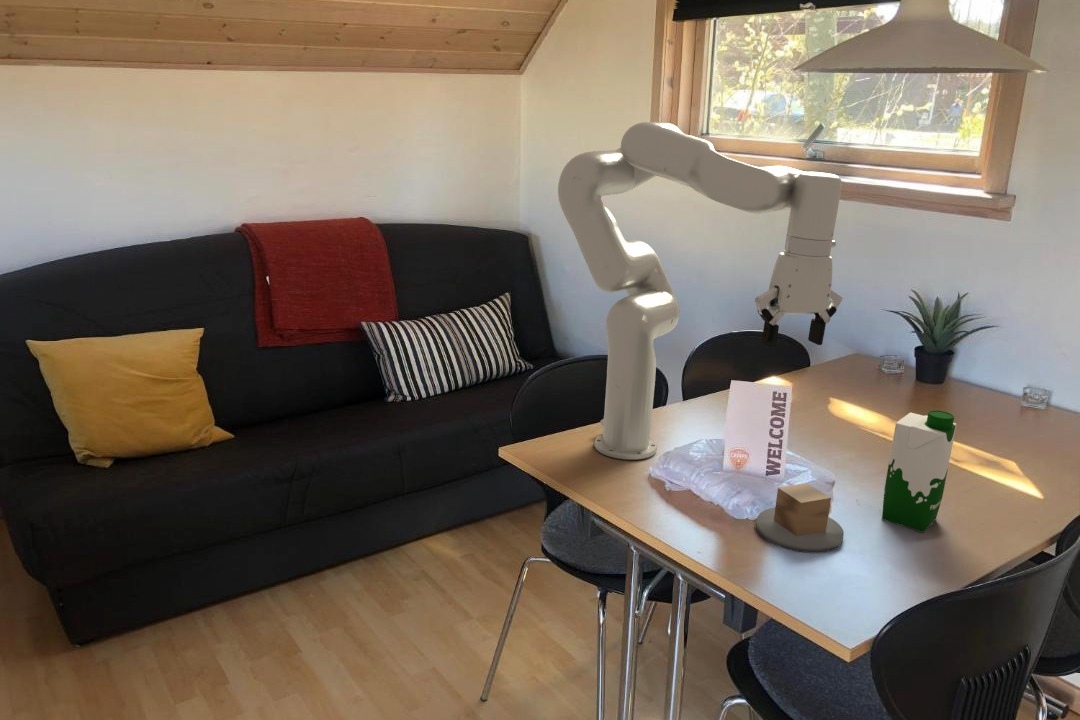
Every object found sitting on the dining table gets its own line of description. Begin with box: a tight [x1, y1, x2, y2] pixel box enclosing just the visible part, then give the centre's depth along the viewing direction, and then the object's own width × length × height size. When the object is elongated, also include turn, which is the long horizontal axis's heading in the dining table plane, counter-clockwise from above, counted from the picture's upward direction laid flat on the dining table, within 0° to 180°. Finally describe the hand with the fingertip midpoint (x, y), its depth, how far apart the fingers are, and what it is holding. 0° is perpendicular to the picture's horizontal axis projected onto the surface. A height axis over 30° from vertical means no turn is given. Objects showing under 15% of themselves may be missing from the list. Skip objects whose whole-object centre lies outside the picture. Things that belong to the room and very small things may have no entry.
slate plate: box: [755, 506, 845, 554], centre depth 149 cm, size 14×14×1 cm
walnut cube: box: [774, 482, 832, 536], centre depth 148 cm, size 6×6×6 cm
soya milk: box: [881, 410, 958, 533], centre depth 153 cm, size 9×9×20 cm
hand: (792, 344), depth 156 cm, fingers open, 9 cm apart
